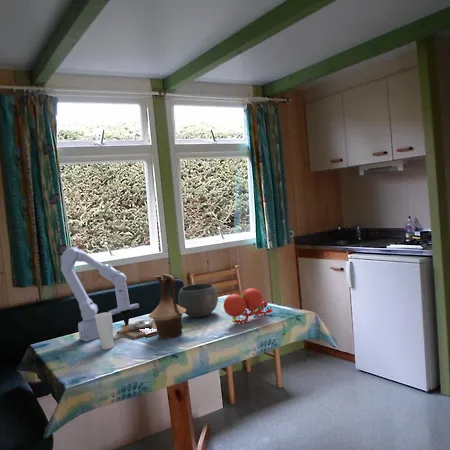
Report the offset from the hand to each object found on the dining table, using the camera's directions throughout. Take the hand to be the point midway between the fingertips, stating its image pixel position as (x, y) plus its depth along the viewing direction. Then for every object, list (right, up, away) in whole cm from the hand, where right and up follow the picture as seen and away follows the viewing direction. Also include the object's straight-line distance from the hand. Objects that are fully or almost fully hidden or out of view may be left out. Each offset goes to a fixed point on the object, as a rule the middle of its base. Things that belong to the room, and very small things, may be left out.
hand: (126, 326), depth 221 cm
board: (+8, -2, 0) cm, 9 cm away
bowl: (+34, +2, +14) cm, 37 cm away
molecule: (+59, +3, -4) cm, 59 cm away
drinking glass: (-4, -5, -21) cm, 22 cm away
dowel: (+1, -2, -5) cm, 5 cm away
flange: (+5, -1, -1) cm, 5 cm away
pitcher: (+23, -2, -13) cm, 26 cm away
